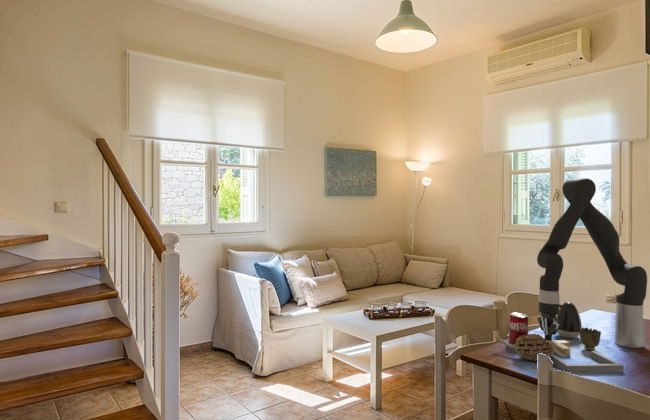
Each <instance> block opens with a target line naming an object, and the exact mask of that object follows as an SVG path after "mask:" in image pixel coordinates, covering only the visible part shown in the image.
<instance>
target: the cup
mask: <svg viewBox="0 0 650 420" xmlns="http://www.w3.org/2000/svg"><path fill="white" fill-rule="evenodd" d="M579 333H580V335H579V339H580V342H581V344H582V345H583V347H584V350H585V351H588V352H591V351H595V350H596V347H598V346H599V344H600V340H601V335H602V331H601V330H598V329H595V328H594V329H592V328H590V327H587V326H586V327H583V326H582V330H580V328H579Z"/></svg>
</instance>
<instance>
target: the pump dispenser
mask: <svg viewBox="0 0 650 420" xmlns="http://www.w3.org/2000/svg"><path fill="white" fill-rule="evenodd" d="M556 319H557V321H556V322H557V324H560V328H559V330H558V331H557V333H556V334H558V335H559V336H561V337H562V338H566V339H572V340H573V339H576V338H578V337H580V333H579V328H580V330H582V327H583V326H582V320H581V316H580V313H579V311H578V309H577V307H576V305H575V304H574V303H572V302H569V301H565V302H563V303H562V304H560V303H559V314H557V315H556Z"/></svg>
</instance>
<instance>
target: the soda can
mask: <svg viewBox="0 0 650 420" xmlns="http://www.w3.org/2000/svg"><path fill="white" fill-rule="evenodd" d="M522 335H523V336H524V335H526V336H528V335H529V316H528V315H527V314H525V313H520V312H511V313H510V314H509V315H508V343H511V344H513V345H515V342H516V339H518V338H519V337H521V336H522Z"/></svg>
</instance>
